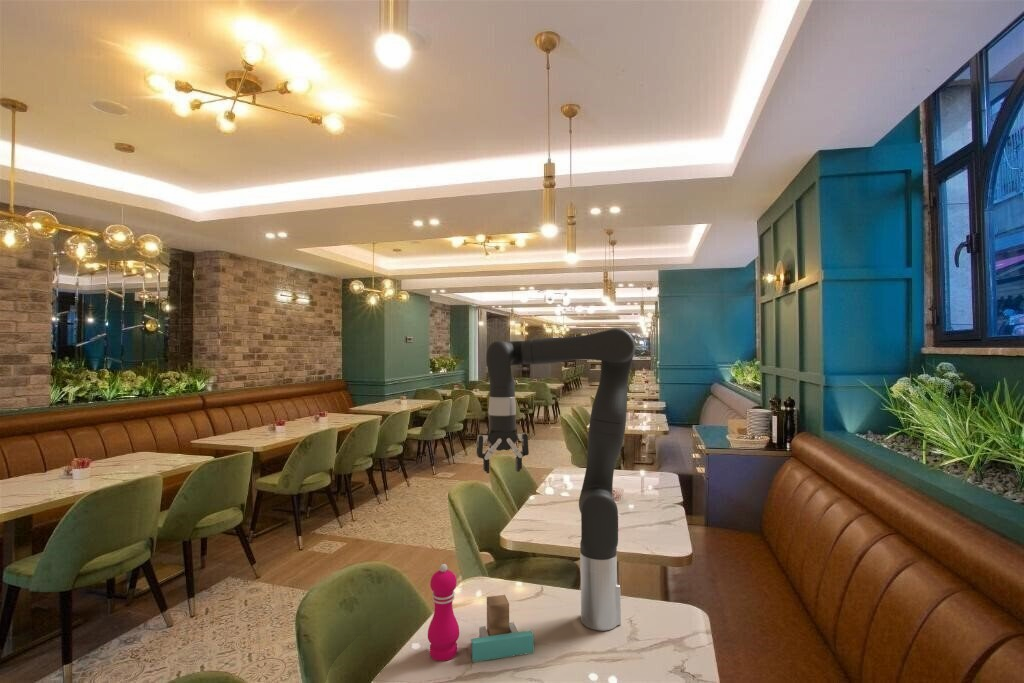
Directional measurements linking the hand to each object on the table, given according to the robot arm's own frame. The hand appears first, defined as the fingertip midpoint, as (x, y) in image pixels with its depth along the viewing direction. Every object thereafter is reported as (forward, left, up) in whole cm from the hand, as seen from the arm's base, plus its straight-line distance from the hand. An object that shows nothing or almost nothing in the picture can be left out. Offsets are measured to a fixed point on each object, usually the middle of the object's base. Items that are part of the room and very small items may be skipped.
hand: (502, 472), depth 136 cm
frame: (+5, +18, -36) cm, 41 cm away
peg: (+5, +17, -36) cm, 40 cm away
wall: (+5, +22, -36) cm, 43 cm away
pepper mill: (+18, +18, -36) cm, 44 cm away
